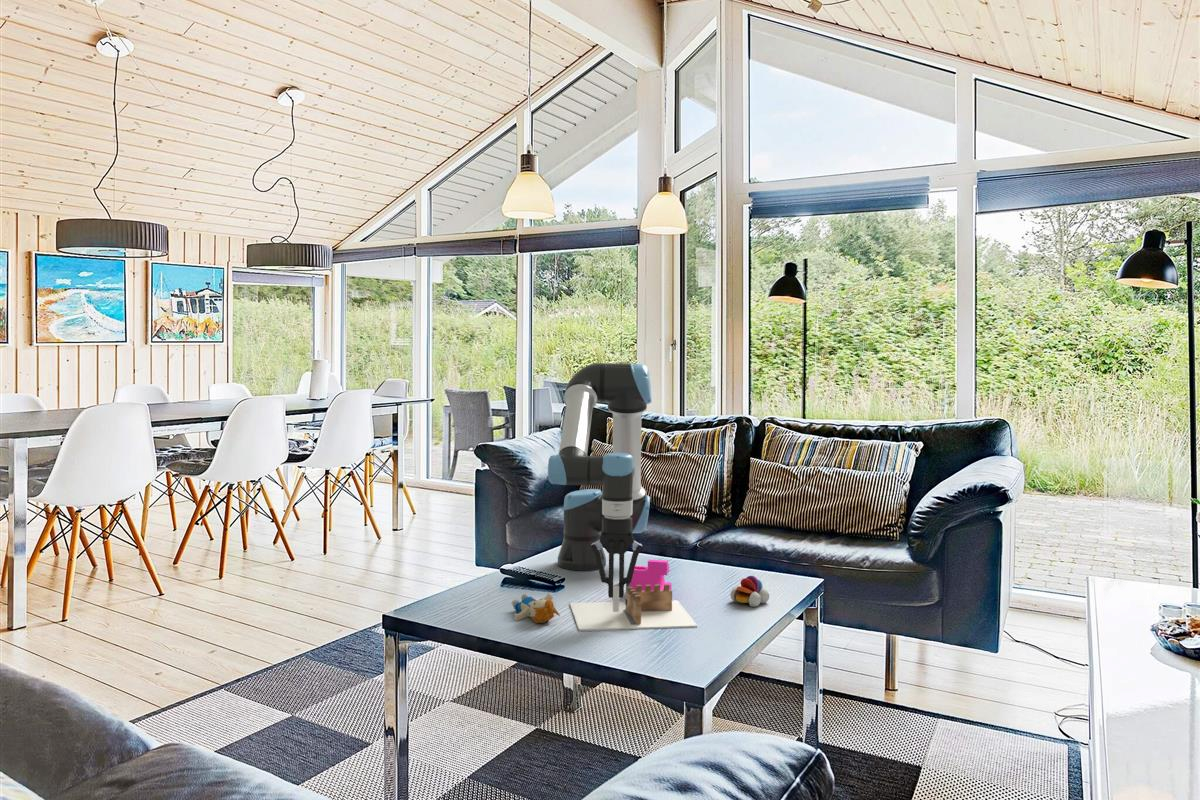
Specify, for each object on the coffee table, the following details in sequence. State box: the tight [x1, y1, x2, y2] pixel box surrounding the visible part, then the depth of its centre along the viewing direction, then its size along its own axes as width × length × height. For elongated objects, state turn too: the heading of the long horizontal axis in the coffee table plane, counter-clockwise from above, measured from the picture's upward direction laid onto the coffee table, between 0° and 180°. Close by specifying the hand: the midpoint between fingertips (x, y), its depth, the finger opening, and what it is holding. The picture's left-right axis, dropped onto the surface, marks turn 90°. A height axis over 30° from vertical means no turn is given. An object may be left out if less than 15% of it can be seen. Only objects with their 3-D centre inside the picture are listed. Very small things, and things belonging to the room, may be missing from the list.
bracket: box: [630, 559, 673, 591], centre depth 235 cm, size 12×10×10 cm
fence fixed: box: [636, 584, 673, 611], centre depth 220 cm, size 10×1×7 cm, turn 98°
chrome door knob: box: [625, 580, 632, 595], centre depth 219 cm, size 2×2×8 cm
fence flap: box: [624, 587, 641, 624], centre depth 213 cm, size 10×2×7 cm, turn 12°
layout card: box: [569, 599, 698, 632], centre depth 217 cm, size 21×29×1 cm
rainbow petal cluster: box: [729, 575, 770, 608], centre depth 229 cm, size 8×10×7 cm
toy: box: [511, 593, 561, 624], centre depth 214 cm, size 12×6×15 cm
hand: (615, 610), depth 212 cm, fingers closed
